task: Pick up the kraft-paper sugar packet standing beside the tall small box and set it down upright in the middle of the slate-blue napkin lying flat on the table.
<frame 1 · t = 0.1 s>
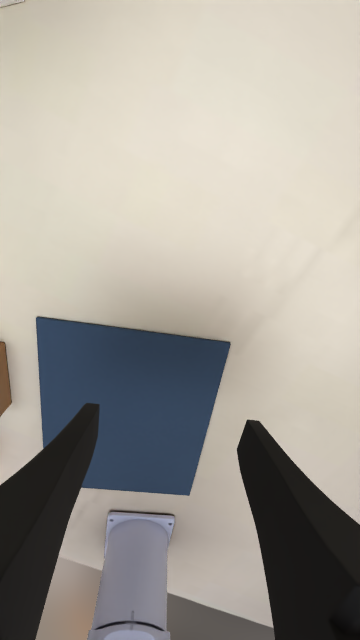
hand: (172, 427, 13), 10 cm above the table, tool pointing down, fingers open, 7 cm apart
napkin: (127, 420, 25), on the table
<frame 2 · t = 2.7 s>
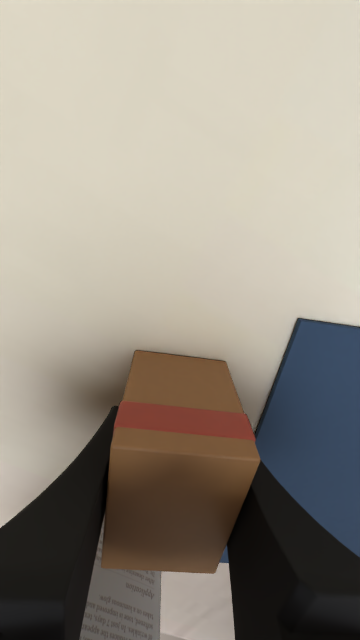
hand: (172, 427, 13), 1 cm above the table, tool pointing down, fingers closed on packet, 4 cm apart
small box: (94, 504, 17), on the table
packet: (171, 407, 14), on the table, touching gripper
when the fingers open (2 cm above the table, at t = 7.2 s): packet stays where it is, resting on napkin.
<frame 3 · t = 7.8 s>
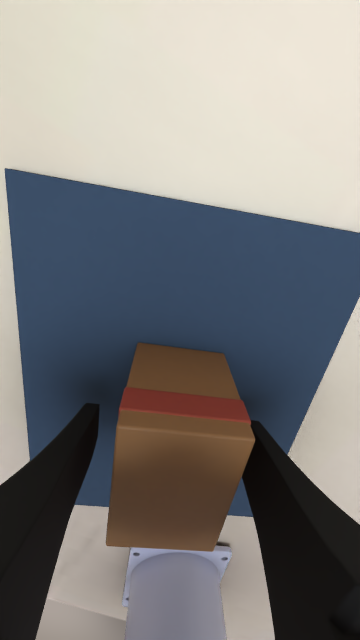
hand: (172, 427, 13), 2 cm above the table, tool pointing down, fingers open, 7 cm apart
napkin: (172, 394, 15), on the table
packet: (172, 397, 14), resting on napkin
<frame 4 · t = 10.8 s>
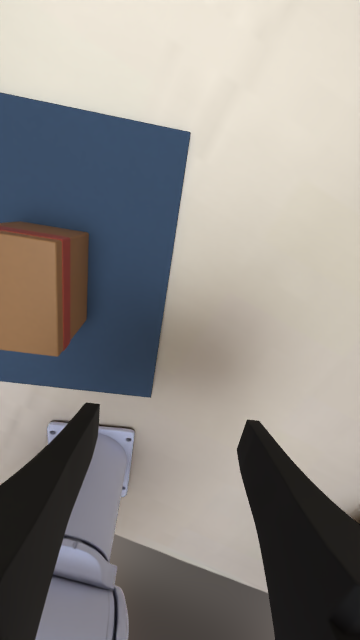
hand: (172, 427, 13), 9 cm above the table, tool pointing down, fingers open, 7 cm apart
napkin: (57, 274, 19), on the table
packet: (55, 274, 18), resting on napkin
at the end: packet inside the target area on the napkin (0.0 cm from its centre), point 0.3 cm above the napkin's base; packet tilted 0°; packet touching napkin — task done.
